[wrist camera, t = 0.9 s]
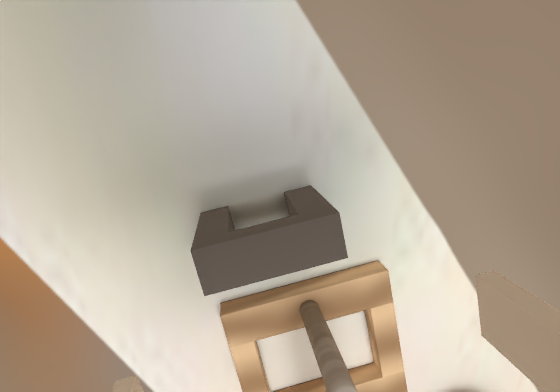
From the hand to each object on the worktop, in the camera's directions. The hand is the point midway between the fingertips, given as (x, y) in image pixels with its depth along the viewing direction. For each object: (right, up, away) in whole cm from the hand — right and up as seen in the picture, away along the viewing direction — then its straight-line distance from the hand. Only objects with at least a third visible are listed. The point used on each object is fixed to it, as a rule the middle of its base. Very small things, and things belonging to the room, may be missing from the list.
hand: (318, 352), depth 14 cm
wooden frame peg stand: (+2, -8, +19) cm, 21 cm away
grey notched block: (-3, +4, +16) cm, 17 cm away
